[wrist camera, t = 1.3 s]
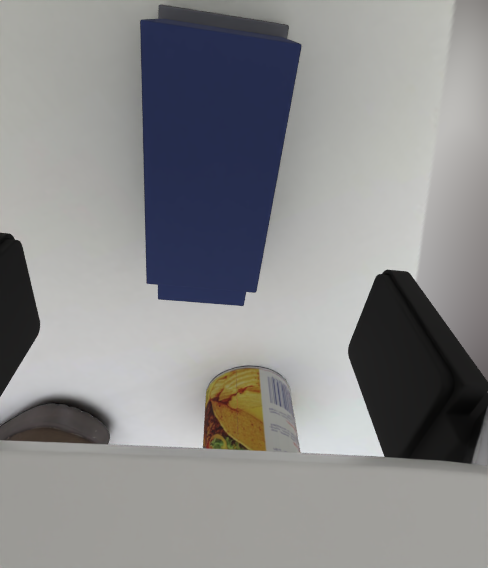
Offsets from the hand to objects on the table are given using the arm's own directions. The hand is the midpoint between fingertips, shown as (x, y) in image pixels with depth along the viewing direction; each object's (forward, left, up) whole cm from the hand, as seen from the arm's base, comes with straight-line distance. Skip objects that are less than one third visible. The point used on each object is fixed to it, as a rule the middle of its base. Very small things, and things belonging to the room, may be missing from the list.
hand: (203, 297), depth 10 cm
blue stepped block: (+1, 0, -14) cm, 14 cm away
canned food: (+22, +5, -15) cm, 27 cm away
